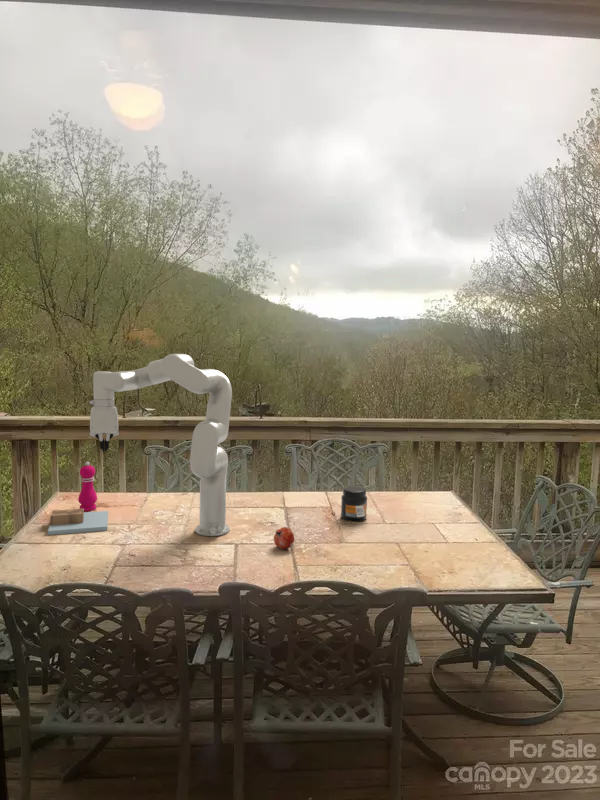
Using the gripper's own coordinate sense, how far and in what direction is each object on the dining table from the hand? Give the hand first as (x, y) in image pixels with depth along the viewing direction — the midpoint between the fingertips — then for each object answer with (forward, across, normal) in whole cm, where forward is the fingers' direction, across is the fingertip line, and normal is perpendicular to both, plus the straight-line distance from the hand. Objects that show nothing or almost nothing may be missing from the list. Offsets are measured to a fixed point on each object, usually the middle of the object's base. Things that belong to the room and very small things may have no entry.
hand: (104, 450), depth 212 cm
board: (+27, -9, -4) cm, 29 cm away
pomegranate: (+27, +59, -47) cm, 80 cm away
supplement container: (+27, +96, -22) cm, 102 cm away
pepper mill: (+27, -7, +15) cm, 32 cm away
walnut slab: (+24, -8, -4) cm, 25 cm away
